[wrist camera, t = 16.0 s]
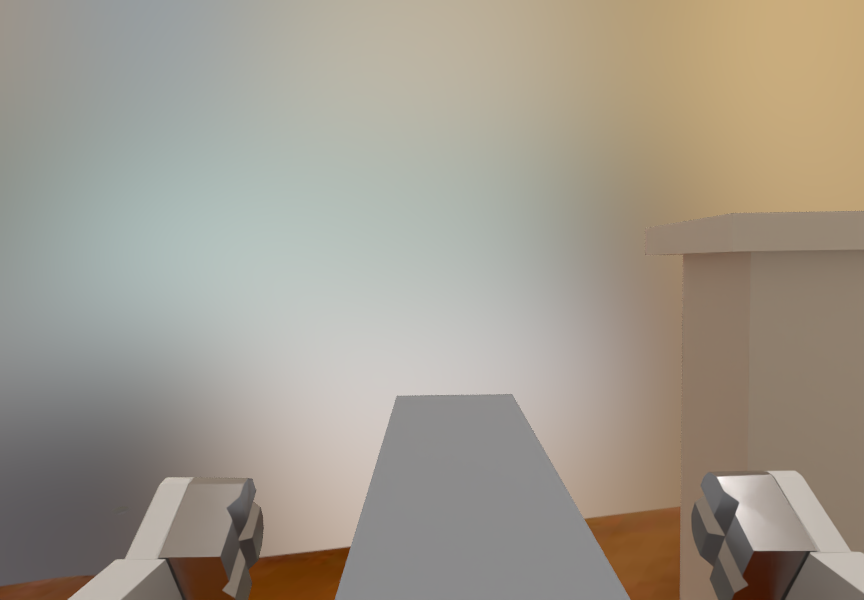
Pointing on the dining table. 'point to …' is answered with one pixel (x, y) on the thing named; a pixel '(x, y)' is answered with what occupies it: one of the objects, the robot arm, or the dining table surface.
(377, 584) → the cover
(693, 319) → the stand
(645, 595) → the dining table surface
